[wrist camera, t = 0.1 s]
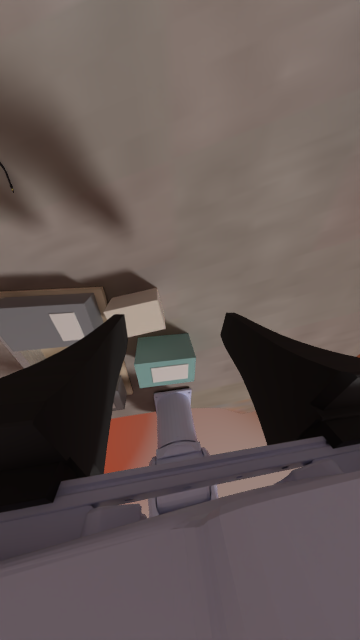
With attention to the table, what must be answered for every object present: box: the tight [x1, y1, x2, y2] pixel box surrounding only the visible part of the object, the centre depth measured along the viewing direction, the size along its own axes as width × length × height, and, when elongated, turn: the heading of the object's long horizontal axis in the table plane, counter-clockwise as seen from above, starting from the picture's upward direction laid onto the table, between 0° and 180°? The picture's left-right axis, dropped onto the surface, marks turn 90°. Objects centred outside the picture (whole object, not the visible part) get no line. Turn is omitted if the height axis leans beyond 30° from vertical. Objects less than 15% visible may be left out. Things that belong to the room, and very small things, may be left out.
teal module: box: [134, 333, 196, 388], centre depth 23 cm, size 5×8×6 cm, turn 90°
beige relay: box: [103, 288, 166, 337], centre depth 19 cm, size 4×6×4 cm, turn 100°
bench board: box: [0, 287, 133, 395], centre depth 23 cm, size 22×12×1 cm, turn 0°
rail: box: [0, 297, 46, 368], centre depth 21 cm, size 21×1×2 cm, turn 0°
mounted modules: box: [0, 293, 127, 411], centre depth 22 cm, size 21×10×3 cm, turn 0°
